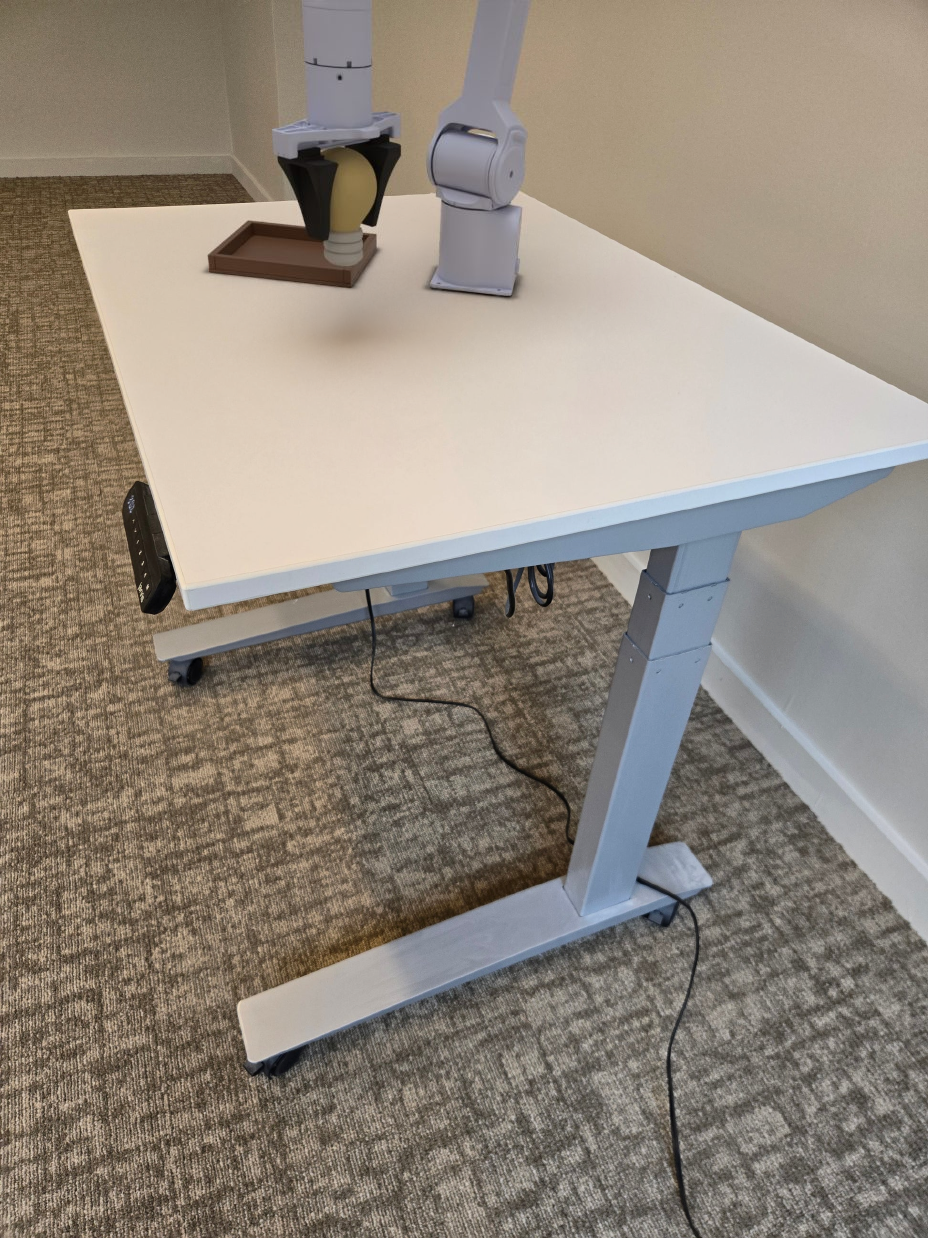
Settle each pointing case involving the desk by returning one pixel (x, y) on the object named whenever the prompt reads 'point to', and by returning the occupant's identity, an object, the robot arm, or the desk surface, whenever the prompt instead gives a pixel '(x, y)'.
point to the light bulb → (348, 205)
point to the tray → (284, 255)
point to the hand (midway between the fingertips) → (342, 230)
